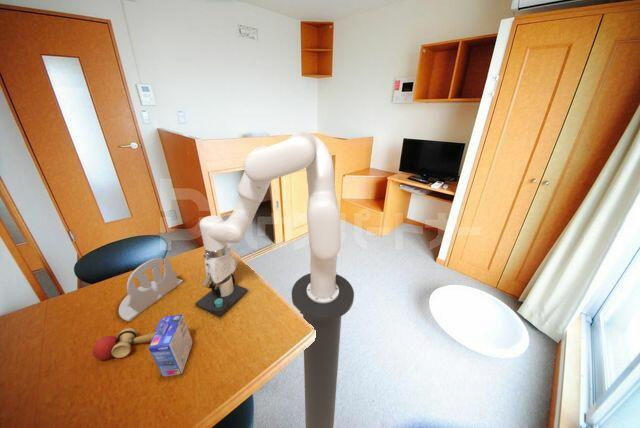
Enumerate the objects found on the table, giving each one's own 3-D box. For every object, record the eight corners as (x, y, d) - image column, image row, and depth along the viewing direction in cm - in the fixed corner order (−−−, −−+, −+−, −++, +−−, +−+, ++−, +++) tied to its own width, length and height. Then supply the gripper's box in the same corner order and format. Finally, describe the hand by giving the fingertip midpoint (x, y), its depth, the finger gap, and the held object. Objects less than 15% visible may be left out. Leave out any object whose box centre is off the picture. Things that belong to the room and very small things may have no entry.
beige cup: (224, 282, 96) (222, 270, 93) (237, 287, 93) (235, 275, 91) (211, 293, 90) (209, 281, 88) (224, 299, 88) (222, 286, 85)
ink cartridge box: (174, 344, 73) (161, 309, 67) (193, 341, 74) (182, 307, 67) (160, 377, 64) (144, 341, 58) (182, 374, 65) (168, 338, 59)
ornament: (129, 322, 80) (111, 283, 73) (104, 310, 84) (85, 272, 77) (184, 281, 98) (174, 246, 91) (161, 273, 103) (150, 240, 96)
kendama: (170, 328, 79) (100, 342, 72) (168, 316, 76) (94, 330, 68) (168, 351, 73) (91, 369, 66) (165, 339, 70) (84, 357, 62)
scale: (224, 282, 98) (223, 276, 97) (248, 291, 93) (247, 286, 92) (195, 306, 86) (193, 300, 85) (220, 319, 81) (219, 312, 80)
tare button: (219, 300, 85) (218, 297, 85) (225, 303, 84) (224, 299, 84) (213, 306, 83) (212, 302, 82) (219, 308, 82) (218, 305, 81)
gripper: (204, 266, 75) (214, 308, 83) (242, 240, 90) (247, 278, 97) (187, 260, 78) (198, 300, 86) (227, 236, 92) (233, 273, 100)
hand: (224, 288), depth 91 cm, fingers closed on beige cup, 6 cm apart
